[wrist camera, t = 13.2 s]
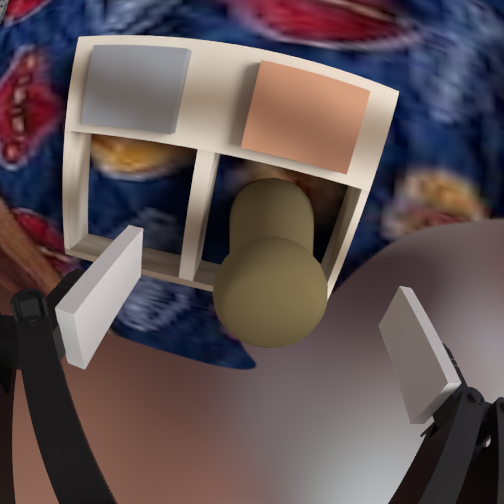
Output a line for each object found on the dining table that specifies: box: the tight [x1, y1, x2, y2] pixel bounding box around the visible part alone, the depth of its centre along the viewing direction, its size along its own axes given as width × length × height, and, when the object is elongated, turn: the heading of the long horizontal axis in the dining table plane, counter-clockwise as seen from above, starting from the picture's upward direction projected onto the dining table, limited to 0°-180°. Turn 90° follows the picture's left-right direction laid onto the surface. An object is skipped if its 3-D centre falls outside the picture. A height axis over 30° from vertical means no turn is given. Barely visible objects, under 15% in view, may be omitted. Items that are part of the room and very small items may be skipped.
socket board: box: [63, 35, 399, 300], centre depth 19 cm, size 16×20×4 cm
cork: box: [213, 178, 328, 348], centre depth 18 cm, size 6×6×11 cm
